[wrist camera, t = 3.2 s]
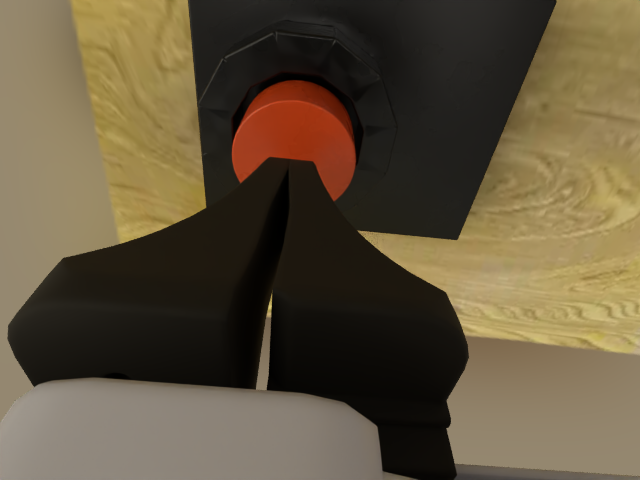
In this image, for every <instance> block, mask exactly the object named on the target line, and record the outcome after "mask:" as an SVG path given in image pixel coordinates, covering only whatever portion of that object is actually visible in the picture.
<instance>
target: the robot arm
mask: <svg viewBox="0 0 640 480" xmlns="http://www.w3.org/2000/svg"><path fill="white" fill-rule="evenodd" d="M272 290H273V291H272ZM271 294H272V314H271V336H270V360H269V377H268V384H267V390H256V383H257V376H258V369H259V362H260V354H261V347H262V341H263V333H264V327H265V319H266V315H267V310H268V306H269V302H270V298H271ZM8 341H9V344H10V346H11V348H12V351H13V353H14V356H15V358H16V359H17V361H18V362H19V364H20V366H21V367H22V369H23V370H24V372H25V373H26V375H27V377H28V378H29V380H30V381H31V383H32V384H33V386H34V388H33V389H32V390H30V391H28V392H27V393H26V394H24V395H23V396H21V397H20V398H18V399H17V400H15V402H14V403H13V405H12V406H11V407H10V409H9V410H8V412H7V413H6V415H5V417H4V418H3V419H2V421H1V422H0V480H640V476H628V475H612V474H599V473H584V472H569V471H554V470H539V469H524V468H509V467H495V466H479V465H464V464H455V463H454V459H453V455H452V450H451V446H450V442H449V438H448V434H447V429H446V428H448V427H449V426H450V424H451V417H450V413H449V409H448V406H447V401H446V400H447V399H448V397H449V395H450V393H451V392H452V390H453V388H454V387H455V385H456V383H457V382H458V380H459V378H460V376H461V375H462V373H463V371H464V369H465V366H466V364H467V361H468V358H469V355H468V344H467V341H466V339H465V335H464V333H463V330H462V327H461V324H460V322H459V319H458V317H457V315H456V312H455V310H454V308H453V306H452V304H451V303H450V301H449V298H448V296H447V294H446V292H444V291H443V290H441V289H439V288H437V287H435V286H433V285H432V284H430V283H428V282H426V281H424V280H423V279H421V278H419V277H417V276H415V275H413V274H412V273H410V272H409V271H407V270H406V269H404V268H403V267H401V266H400V265H398V264H397V263H395V262H394V261H392V260H391V259H389V258H388V257H387V256H385V255H384V254H383V253H381V252H380V251H379V250H378V249H377V248H375V247H374V246H373V245H372V244H371V243H370V242H368V241H367V240H366V239H365V238H364V237H363V236H362V235H361V234H360V233H359V232H358V231H357V230H356V229H355V228H354V227H353V226H352V225H351V224H350V223H349V221H348V220H347V219H346V218H345V216H344V215H343V214H342V212H341V211H340V210H339V208H338V207H337V205H336V204H335V202H334V201H333V199H332V198H331V196H330V194H329V193H328V191H327V189H326V187H325V186H324V184H323V182H322V180H321V177H320V175H319V173H318V170H317V167H316V165H315V163H314V162H313V161H306V160H296V159H287V158H278V157H268V158H267V159H266V160H265V161H264V162H263V163H262V164H261V165H260V166H259V167H258V168H256V169H255V170H254V171H253V172H252V173H251V174H250V175H249V176H248V177H247V178H246V179H245V180H243V181H242V182H241V183H240V184H239V185H238V186H237V187H235V188H234V189H233V190H232V191H230V192H229V193H228V194H226V195H225V196H224V197H222V198H221V199H220V200H218V201H217V202H215V203H213V204H212V205H210V206H209V207H207V208H205V209H203V210H202V211H200V212H198V213H196V214H194V215H193V216H191V217H189V218H186V219H184V220H182V221H180V222H178V223H175V224H173V225H171V226H169V227H167V228H164V229H162V230H160V231H157V232H154V233H152V234H149V235H146V236H143V237H140V238H137V239H134V240H131V241H128V242H125V243H122V244H118V245H115V246H111V247H107V248H103V249H99V250H95V251H92V252H87V253H83V254H79V255H75V256H70V257H66V258H63V259H62V260H61V261H60V262H59V263H58V264H57V265H56V267H55V268H54V269H53V270H52V271H51V272H50V273H49V274H48V276H47V277H46V278H45V279H44V280H43V282H42V283H41V284H40V285H39V287H38V288H37V289H36V290H35V291H34V293H33V294H32V295H31V297H30V298H29V299H28V300H27V301H26V303H25V304H24V305H23V306H22V308H21V309H20V310H19V311H18V313H17V314H16V315H15V317H14V318H13V319H12V321H11V322H10V324H9V325H8Z"/></svg>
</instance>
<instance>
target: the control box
mask: <svg viewBox="0 0 640 480" xmlns="http://www.w3.org/2000/svg"><path fill="white" fill-rule="evenodd" d="M555 5H556V0H188V6H189V17H190V28H191V39H192V51H193V62H194V73H195V84H196V96H197V107H198V118H199V130H200V141H201V152H202V163H203V175H204V186H205V197H206V208H207V207H209V206H210V205H212V204H213V203H215V202H217V201H218V200H220V199H221V198H222V197H224V196H225V195H226V194H228V193H229V192H230V191H232V190H233V189H234V188H235V187H237V186H238V185H239V184H240V181H239V179H238V178H237V175H236V173H235V170H234V166H233V162H232V145H233V140H234V137H235V134H236V132H237V130H238V128H239V126H240V124H241V121H242V119H243V117H244V115H245V113H246V111H247V109H248V107H249V105H250V104H251V102H252V101H253V99H254V98H255V97H256V96H257V95H258V94H259V93H260V92H262V91H263V90H264V89H266V88H268V87H269V86H271V85H274V84H276V83H279V82H283V81H289V80H303V81H308V82H312V83H315V84H318V85H320V86H322V87H324V88H326V89H327V90H329V91H330V92H332V93H333V94H334V95H335V96H336V97H337V98H338V99H339V100H340V101H341V102H342V104H343V105H344V107H345V108H346V110H347V112H348V114H349V116H350V119H351V122H352V128H353V135H354V144H355V152H356V165H355V171H354V175H353V177H352V180H351V182H350V184H349V186H348V187H347V189H346V190H345V191H344V193H343V194H342V195H341V196H340V197H339V198H338V199H337V200H335V201H334V202H335V204H336V205H337V207H338V208H339V210H340V211H341V212H342V214H343V215H344V216H345V218H346V219H347V220H348V221H349V223H350V224H351V225H352V226H353V227H354V228H355V229H356V230H359V231H369V232H379V233H390V234H400V235H410V236H420V237H430V238H441V239H451V240H458V238H459V235H460V233H461V230H462V228H463V226H464V223H465V221H466V218H467V216H468V214H469V211H470V209H471V206H472V204H473V202H474V199H475V197H476V194H477V192H478V190H479V187H480V185H481V182H482V180H483V178H484V175H485V173H486V170H487V168H488V165H489V163H490V161H491V158H492V156H493V153H494V151H495V149H496V146H497V144H498V141H499V139H500V137H501V134H502V132H503V129H504V127H505V125H506V122H507V120H508V117H509V115H510V113H511V110H512V108H513V105H514V103H515V101H516V98H517V96H518V93H519V91H520V89H521V86H522V84H523V81H524V79H525V77H526V74H527V72H528V69H529V67H530V65H531V62H532V60H533V57H534V55H535V53H536V50H537V48H538V45H539V43H540V41H541V38H542V36H543V33H544V31H545V29H546V26H547V24H548V21H549V19H550V17H551V14H552V12H553V9H554V7H555Z"/></svg>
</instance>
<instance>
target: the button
mask: <svg viewBox="0 0 640 480" xmlns="http://www.w3.org/2000/svg"><path fill="white" fill-rule="evenodd" d="M268 157H278V158H287V159H296V160H306V161H313V162H314V163H315V165H316V167H317V170H318V173H319V175H320V177H321V180H322V182H323V184H324V186H325V187H326V189H327V191H328V193H329V194H330V196H331V198H332V199H333V201H335V200H337V199H338V198H339V197H340V196H341V195H342V194H343V193H344V191H345V190H346V189H347V187H348V186H349V184H350V182H351V180H352V177H353V175H354V171H355V165H356V152H355V144H354V135H353V128H352V122H351V119H350V116H349V114H348V112H347V110H346V108H345V107H344V105H343V104H342V102H341V101H340V100H339V99H338V98H337V97H336V96H335V95H334V94H333V93H332V92H330V91H329V90H327V89H326V88H324V87H322V86H320V85H318V84H315V83H312V82H308V81H303V80H289V81H283V82H279V83H276V84H274V85H271V86H269V87H268V88H266V89H264V90H263V91H262V92H260V93H259V94H258V95H257V96H256V97H255V98H254V99H253V101H252V102H251V104H250V105H249V107H248V109H247V111H246V113H245V115H244V117H243V119H242V121H241V124H240V126H239V128H238V130H237V132H236V134H235V137H234V140H233V145H232V162H233V166H234V170H235V173H236V175H237V178H238V179H239V181H240V183H241V182H242V181H243V180H245V179H246V178H247V177H248V176H249V175H250V174H251V173H252V172H253V171H254V170H255V169H256V168H258V167H259V166H260V165H261V164H262V163H263V162H264V161H265V160H266V159H267V158H268Z"/></svg>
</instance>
